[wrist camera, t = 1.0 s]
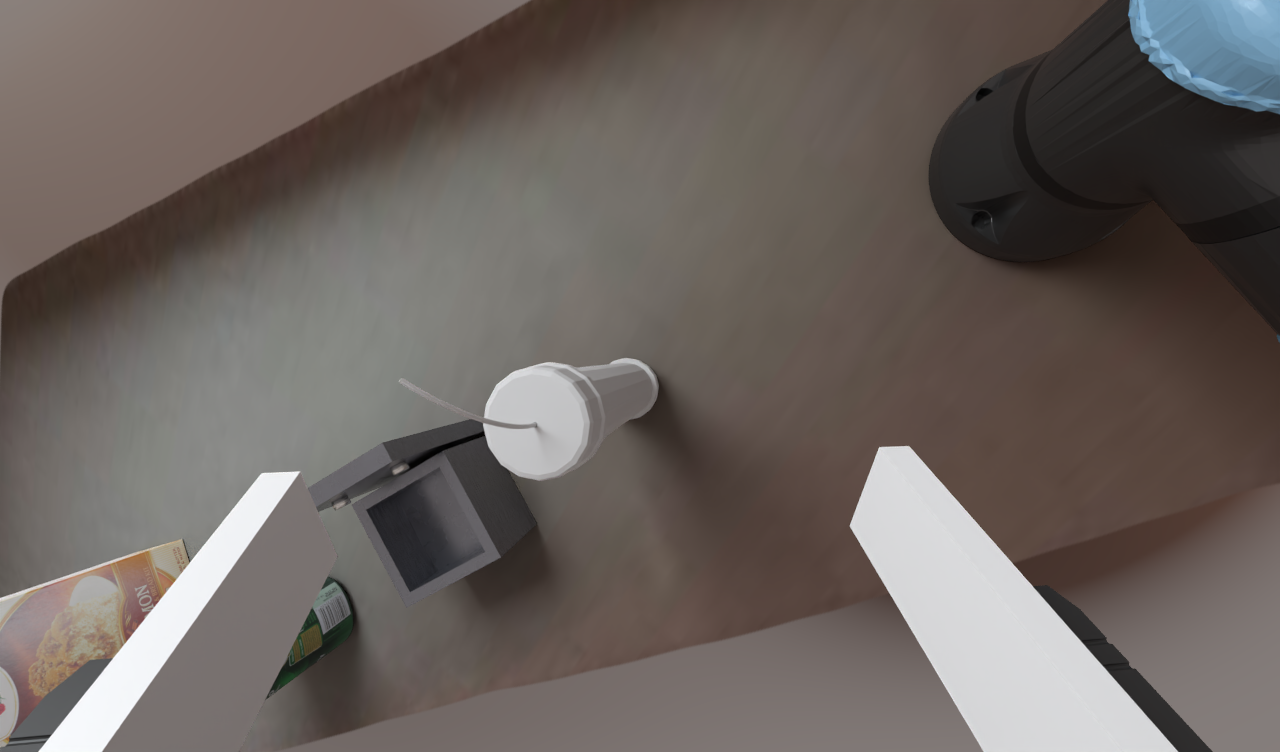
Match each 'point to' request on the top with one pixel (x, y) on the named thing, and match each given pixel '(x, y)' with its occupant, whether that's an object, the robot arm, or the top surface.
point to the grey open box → (431, 506)
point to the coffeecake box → (76, 624)
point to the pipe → (559, 413)
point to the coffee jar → (318, 633)
